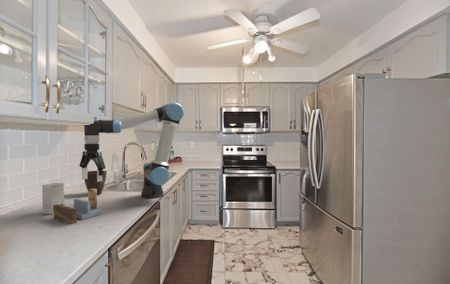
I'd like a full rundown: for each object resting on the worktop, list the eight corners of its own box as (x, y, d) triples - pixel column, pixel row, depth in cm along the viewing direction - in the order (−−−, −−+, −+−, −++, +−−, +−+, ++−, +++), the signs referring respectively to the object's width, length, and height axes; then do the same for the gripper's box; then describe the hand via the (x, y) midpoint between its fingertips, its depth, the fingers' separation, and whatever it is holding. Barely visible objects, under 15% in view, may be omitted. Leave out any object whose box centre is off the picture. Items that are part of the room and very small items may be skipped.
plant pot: (90, 191, 190) (90, 170, 189) (110, 192, 190) (110, 170, 189) (79, 196, 175) (78, 173, 174) (100, 196, 175) (100, 173, 174)
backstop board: (57, 217, 131) (57, 204, 131) (76, 223, 123) (76, 208, 123) (53, 218, 129) (53, 205, 129) (72, 224, 122) (72, 209, 121)
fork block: (87, 210, 143) (87, 196, 143) (101, 213, 137) (101, 199, 137) (68, 215, 134) (67, 200, 133) (82, 219, 128) (81, 203, 128)
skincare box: (51, 214, 136) (51, 185, 135) (41, 214, 137) (40, 185, 137) (64, 210, 144) (64, 182, 143) (54, 209, 145) (54, 182, 145)
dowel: (93, 206, 151) (93, 188, 150) (98, 208, 149) (98, 189, 148) (86, 208, 147) (86, 189, 147) (91, 209, 145) (91, 190, 144)
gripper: (72, 142, 149) (72, 179, 150) (99, 143, 137) (100, 183, 138) (84, 142, 156) (85, 177, 156) (112, 143, 144) (112, 181, 144)
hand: (92, 180), depth 147 cm, fingers open, 13 cm apart
